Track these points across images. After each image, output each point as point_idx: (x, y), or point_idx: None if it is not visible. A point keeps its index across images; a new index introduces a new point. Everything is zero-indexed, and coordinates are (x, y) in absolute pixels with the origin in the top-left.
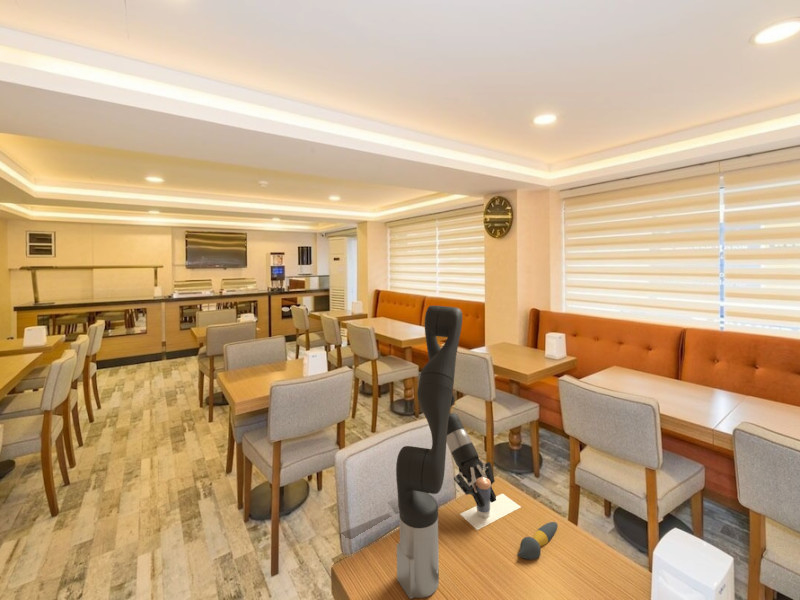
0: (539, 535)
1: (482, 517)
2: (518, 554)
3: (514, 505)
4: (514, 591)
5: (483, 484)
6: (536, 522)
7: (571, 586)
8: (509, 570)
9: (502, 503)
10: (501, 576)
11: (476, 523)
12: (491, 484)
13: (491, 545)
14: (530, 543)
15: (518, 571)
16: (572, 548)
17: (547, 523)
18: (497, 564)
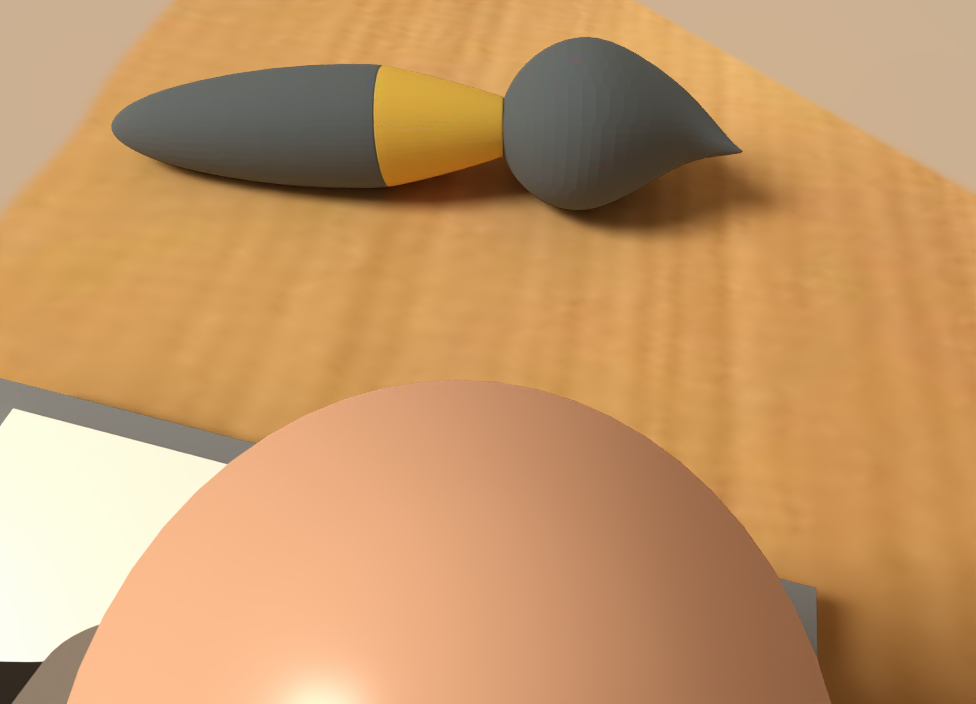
0: (433, 85)
1: None
2: (732, 143)
3: (20, 481)
4: (891, 155)
5: (668, 571)
6: (154, 268)
7: (587, 3)
8: (799, 226)
9: (50, 631)
10: (889, 241)
11: None
12: (31, 671)
13: (730, 426)
14: (626, 55)
15: (750, 188)
16: (297, 48)
17: (206, 113)
18: (840, 301)
